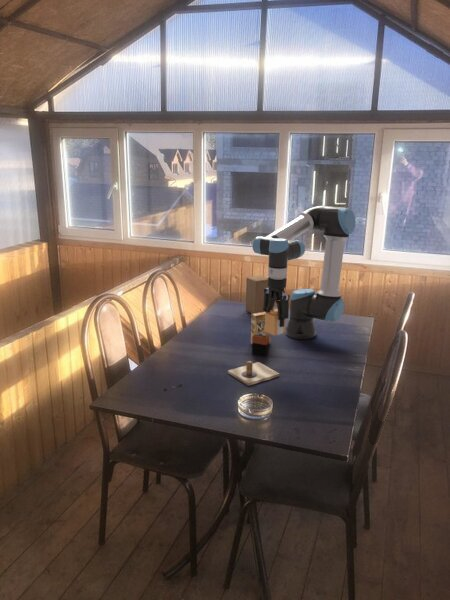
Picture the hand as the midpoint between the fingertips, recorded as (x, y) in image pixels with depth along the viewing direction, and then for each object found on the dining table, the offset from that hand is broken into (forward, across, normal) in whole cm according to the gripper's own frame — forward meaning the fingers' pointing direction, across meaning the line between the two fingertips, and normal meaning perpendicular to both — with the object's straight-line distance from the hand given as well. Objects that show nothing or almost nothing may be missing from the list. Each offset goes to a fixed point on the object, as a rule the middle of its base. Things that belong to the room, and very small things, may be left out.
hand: (274, 331), depth 206 cm
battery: (+17, -16, +6) cm, 25 cm away
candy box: (+17, -26, +14) cm, 34 cm away
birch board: (+17, 0, -10) cm, 20 cm away
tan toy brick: (0, 0, 0) cm, 0 cm away
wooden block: (+17, -66, +43) cm, 81 cm away
